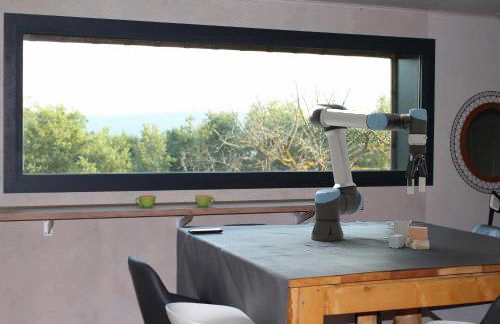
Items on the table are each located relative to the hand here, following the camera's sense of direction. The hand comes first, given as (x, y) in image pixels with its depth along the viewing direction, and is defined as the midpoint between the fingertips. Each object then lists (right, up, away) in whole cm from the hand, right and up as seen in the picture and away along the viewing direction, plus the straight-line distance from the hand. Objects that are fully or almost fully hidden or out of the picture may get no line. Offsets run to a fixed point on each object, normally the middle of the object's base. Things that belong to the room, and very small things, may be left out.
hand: (416, 193), depth 294 cm
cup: (-4, -23, +9) cm, 25 cm away
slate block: (-9, -23, -3) cm, 25 cm away
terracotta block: (0, -20, -4) cm, 20 cm away
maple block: (-1, -24, -4) cm, 24 cm away
